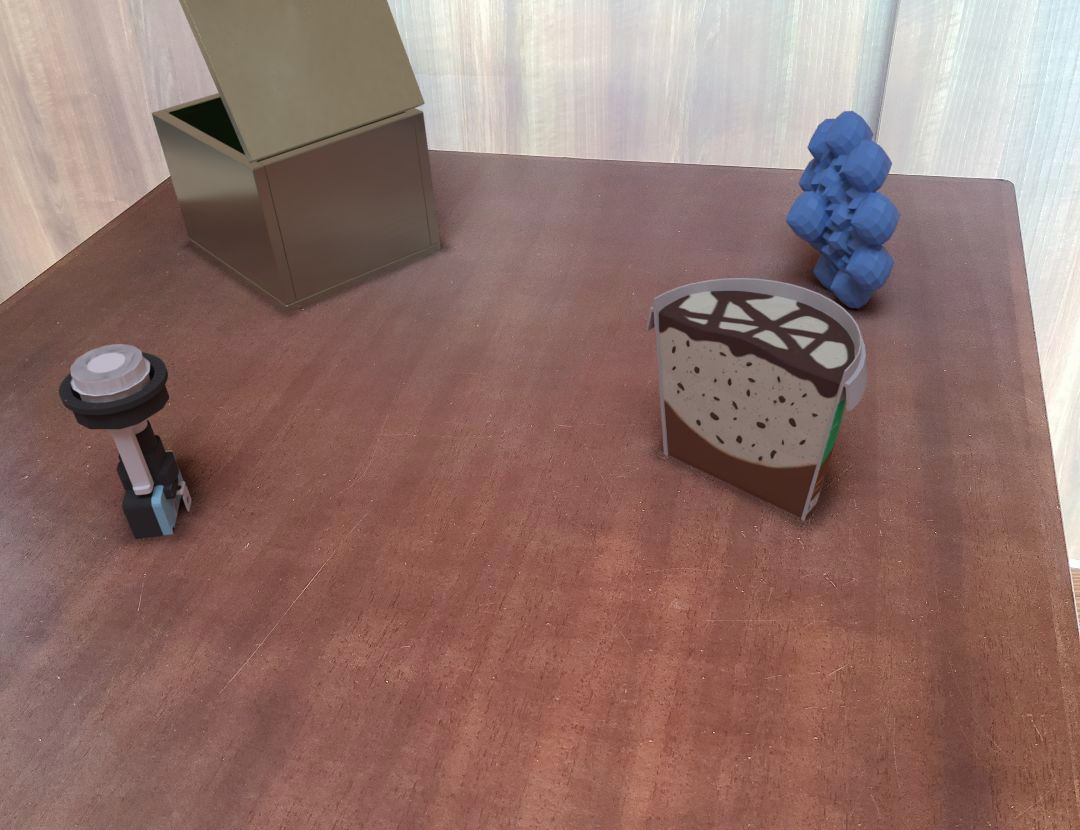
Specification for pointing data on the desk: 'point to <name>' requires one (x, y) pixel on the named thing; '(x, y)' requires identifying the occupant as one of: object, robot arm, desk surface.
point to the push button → (130, 430)
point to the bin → (302, 201)
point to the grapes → (846, 209)
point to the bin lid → (302, 67)
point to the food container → (756, 383)
